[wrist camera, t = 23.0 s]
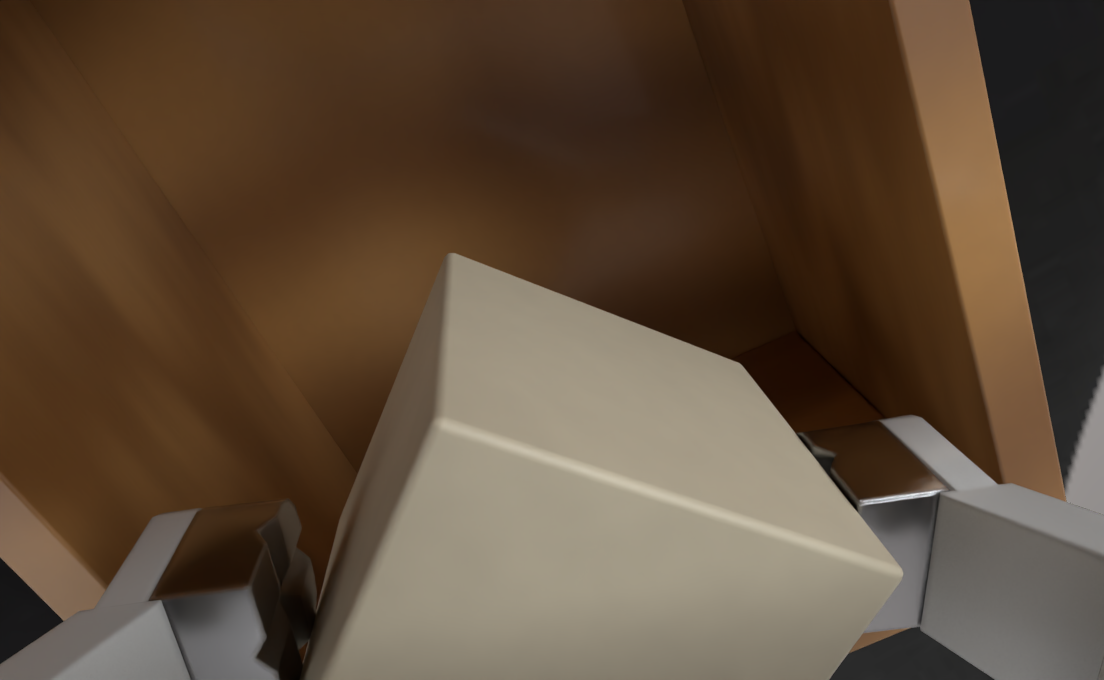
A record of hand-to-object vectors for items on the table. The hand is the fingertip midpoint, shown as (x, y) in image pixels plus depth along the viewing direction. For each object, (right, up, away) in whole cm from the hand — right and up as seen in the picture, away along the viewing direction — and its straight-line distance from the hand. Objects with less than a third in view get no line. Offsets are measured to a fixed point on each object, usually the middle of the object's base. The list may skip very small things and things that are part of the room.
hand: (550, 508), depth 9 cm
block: (0, +1, +2) cm, 2 cm away
